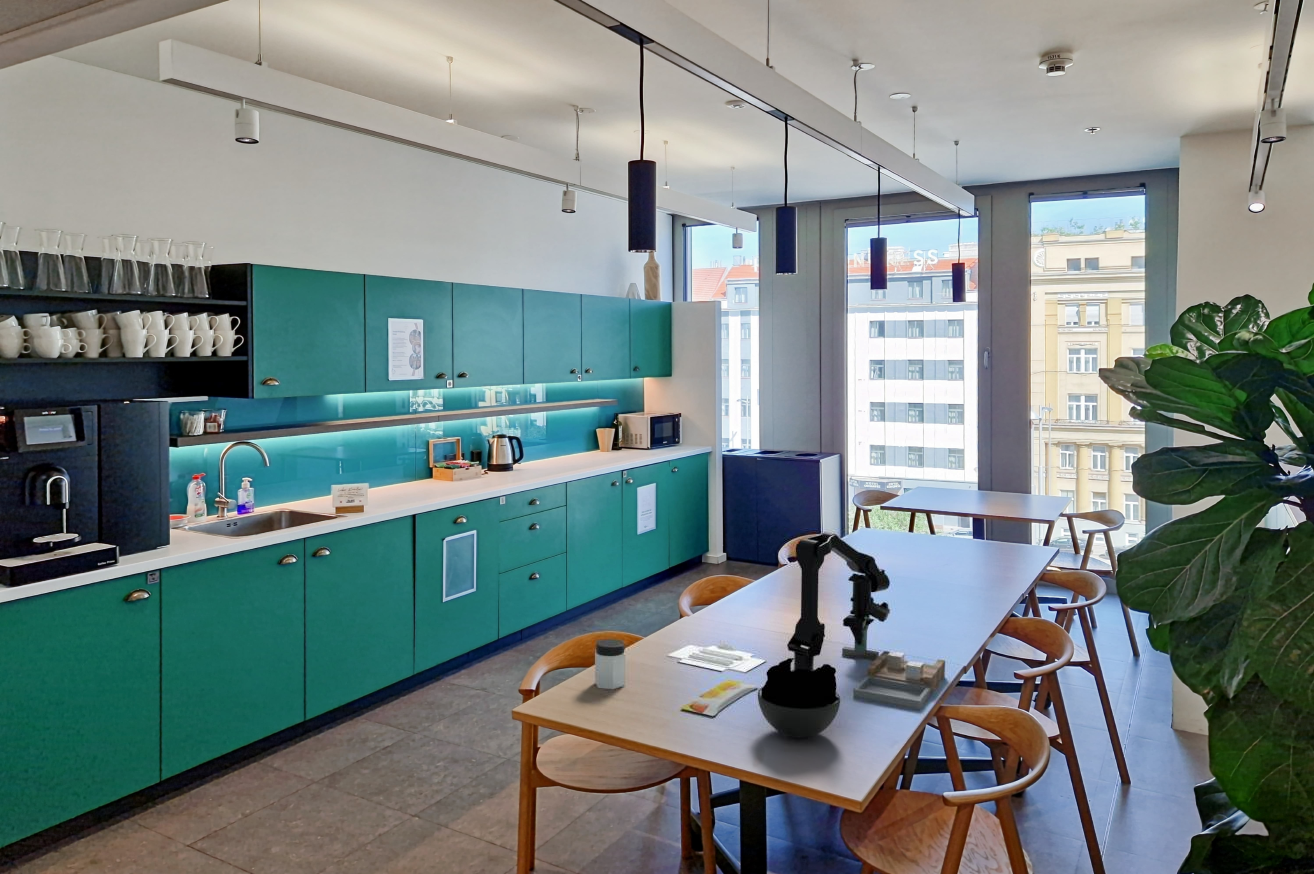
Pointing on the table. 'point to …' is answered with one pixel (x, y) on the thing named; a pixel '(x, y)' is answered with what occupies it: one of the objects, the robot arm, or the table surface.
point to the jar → (610, 664)
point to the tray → (717, 657)
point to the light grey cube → (914, 671)
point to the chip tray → (892, 692)
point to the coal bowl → (799, 699)
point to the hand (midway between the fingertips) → (860, 643)
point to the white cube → (895, 660)
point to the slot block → (930, 672)
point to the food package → (719, 697)
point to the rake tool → (860, 650)
